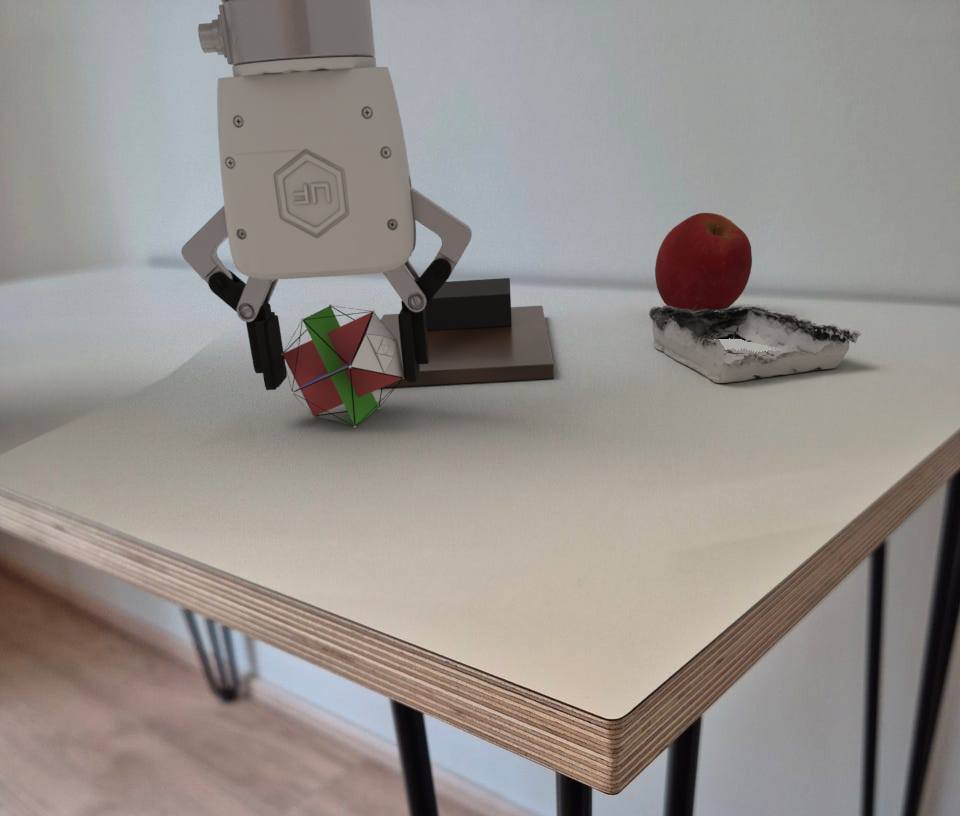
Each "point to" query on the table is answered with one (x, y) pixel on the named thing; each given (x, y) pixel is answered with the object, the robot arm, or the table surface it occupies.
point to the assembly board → (484, 351)
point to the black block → (470, 305)
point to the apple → (703, 263)
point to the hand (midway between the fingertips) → (344, 379)
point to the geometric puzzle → (344, 363)
